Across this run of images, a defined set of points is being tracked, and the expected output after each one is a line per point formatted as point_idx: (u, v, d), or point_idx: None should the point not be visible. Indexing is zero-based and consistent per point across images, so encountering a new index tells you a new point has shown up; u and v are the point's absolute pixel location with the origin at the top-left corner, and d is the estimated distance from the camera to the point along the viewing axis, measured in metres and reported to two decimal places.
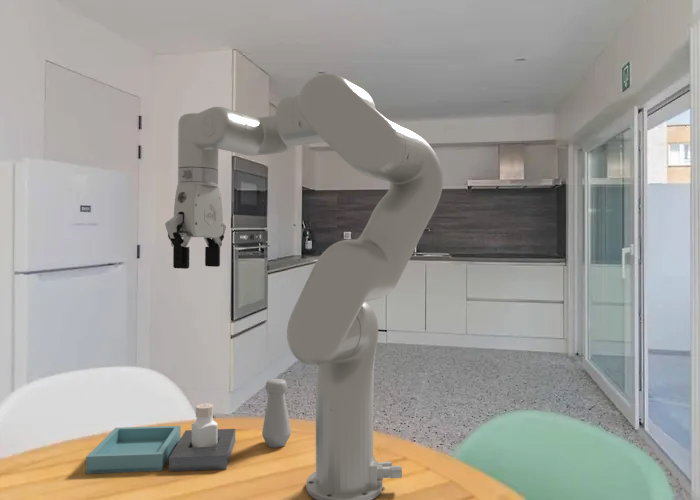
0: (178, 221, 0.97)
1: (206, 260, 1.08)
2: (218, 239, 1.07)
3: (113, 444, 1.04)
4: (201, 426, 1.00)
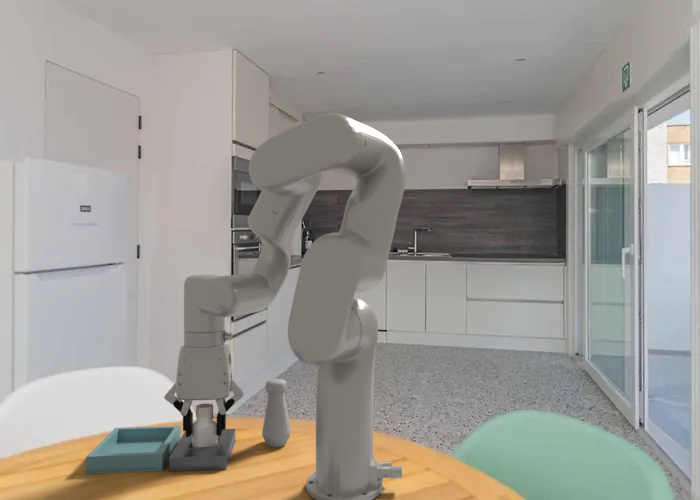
0: None
1: (190, 430, 1.00)
2: None
3: (113, 444, 1.04)
4: (201, 426, 1.00)
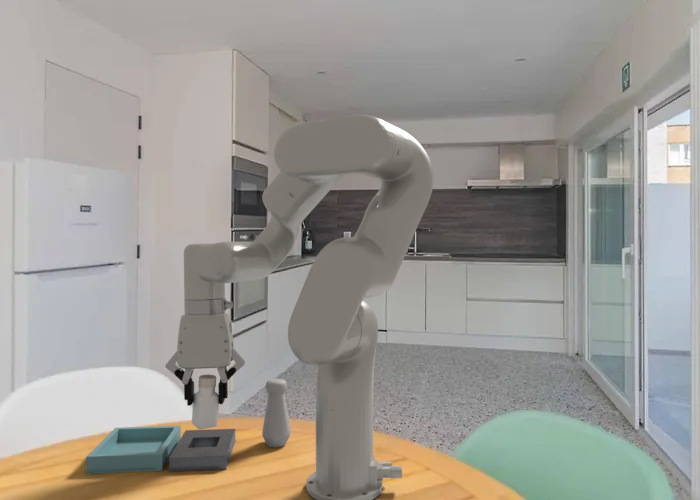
0: None
1: (191, 398, 1.00)
2: None
3: (113, 444, 1.04)
4: (203, 397, 0.99)
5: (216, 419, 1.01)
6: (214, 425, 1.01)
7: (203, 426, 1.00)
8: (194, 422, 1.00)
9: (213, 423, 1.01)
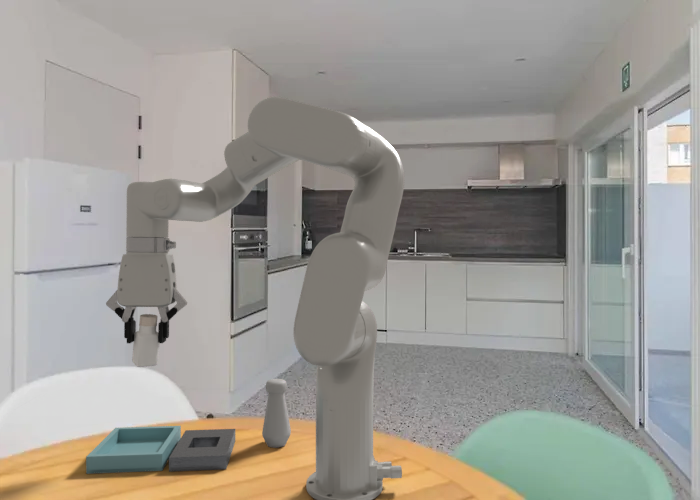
0: None
1: (131, 337, 1.00)
2: None
3: (113, 444, 1.04)
4: (142, 334, 0.99)
5: (156, 359, 1.01)
6: (154, 364, 1.01)
7: (142, 364, 1.00)
8: (134, 360, 1.01)
9: (153, 362, 1.01)
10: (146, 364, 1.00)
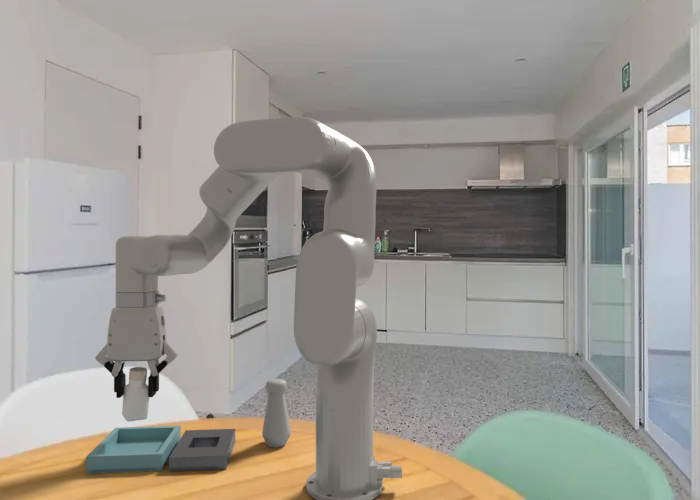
0: None
1: (121, 391, 1.00)
2: None
3: (113, 444, 1.04)
4: (132, 389, 0.99)
5: (146, 412, 1.01)
6: (144, 418, 1.01)
7: (132, 419, 1.00)
8: (123, 414, 1.01)
9: (143, 416, 1.01)
10: (136, 418, 1.00)
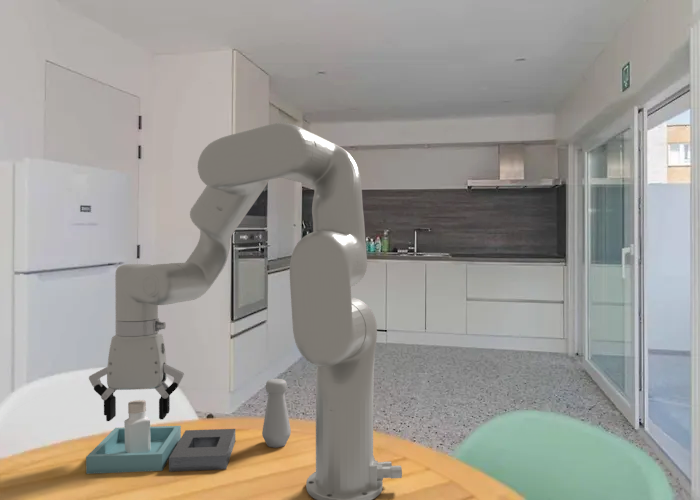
0: None
1: (110, 414, 1.00)
2: None
3: (113, 444, 1.04)
4: (132, 422, 1.00)
5: (149, 444, 1.01)
6: (146, 450, 1.01)
7: (135, 452, 1.00)
8: (126, 449, 1.01)
9: (145, 448, 1.01)
10: (138, 451, 1.00)
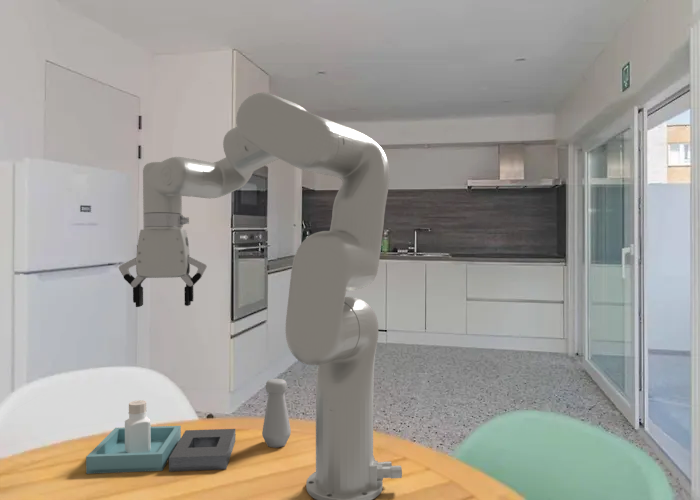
0: None
1: (139, 301, 1.08)
2: None
3: (113, 444, 1.04)
4: (132, 423, 1.00)
5: (149, 445, 1.01)
6: (146, 451, 1.01)
7: None
8: (126, 449, 1.01)
9: (145, 449, 1.01)
10: (139, 452, 1.00)
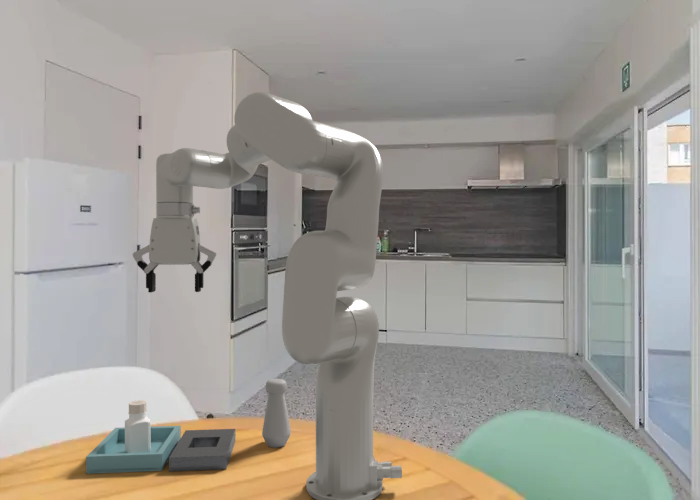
0: None
1: (152, 286, 1.13)
2: None
3: (113, 444, 1.04)
4: (132, 423, 1.00)
5: (149, 445, 1.01)
6: (146, 451, 1.01)
7: None
8: (126, 449, 1.01)
9: (145, 449, 1.01)
10: (139, 452, 1.00)
